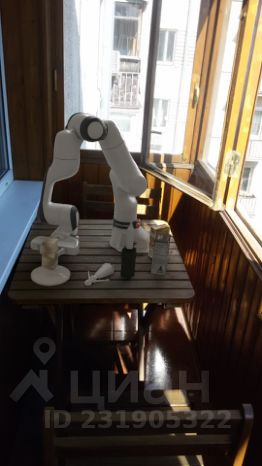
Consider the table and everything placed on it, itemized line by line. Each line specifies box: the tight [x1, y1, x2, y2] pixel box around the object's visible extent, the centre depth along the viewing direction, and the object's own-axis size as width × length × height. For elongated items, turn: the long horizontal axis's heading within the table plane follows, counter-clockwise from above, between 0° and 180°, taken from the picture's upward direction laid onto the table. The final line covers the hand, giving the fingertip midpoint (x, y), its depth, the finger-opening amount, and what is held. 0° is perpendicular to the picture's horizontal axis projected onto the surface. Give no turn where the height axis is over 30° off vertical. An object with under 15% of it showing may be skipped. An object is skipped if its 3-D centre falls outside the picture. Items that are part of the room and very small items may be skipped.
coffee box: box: [150, 233, 172, 276], centre depth 171 cm, size 9×6×16 cm
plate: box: [30, 264, 71, 287], centre depth 162 cm, size 16×16×1 cm
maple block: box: [41, 236, 59, 270], centre depth 158 cm, size 5×5×12 cm
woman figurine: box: [84, 262, 116, 287], centre depth 163 cm, size 12×4×18 cm
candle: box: [119, 222, 137, 280], centre depth 162 cm, size 5×5×25 cm
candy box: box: [147, 223, 171, 259], centre depth 184 cm, size 9×4×15 cm, turn 125°
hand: (49, 253), depth 157 cm, fingers closed on maple block, 5 cm apart
